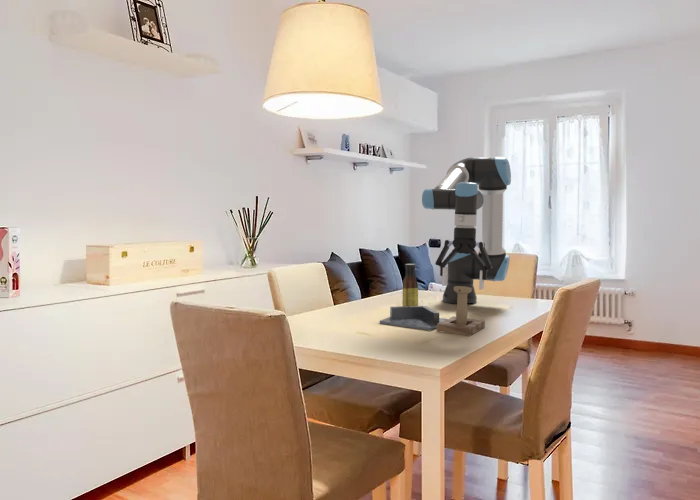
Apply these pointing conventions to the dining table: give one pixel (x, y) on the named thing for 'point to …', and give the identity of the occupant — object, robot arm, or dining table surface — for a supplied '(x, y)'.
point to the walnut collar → (461, 326)
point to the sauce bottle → (410, 286)
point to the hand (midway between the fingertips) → (462, 287)
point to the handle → (462, 304)
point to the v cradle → (413, 317)
